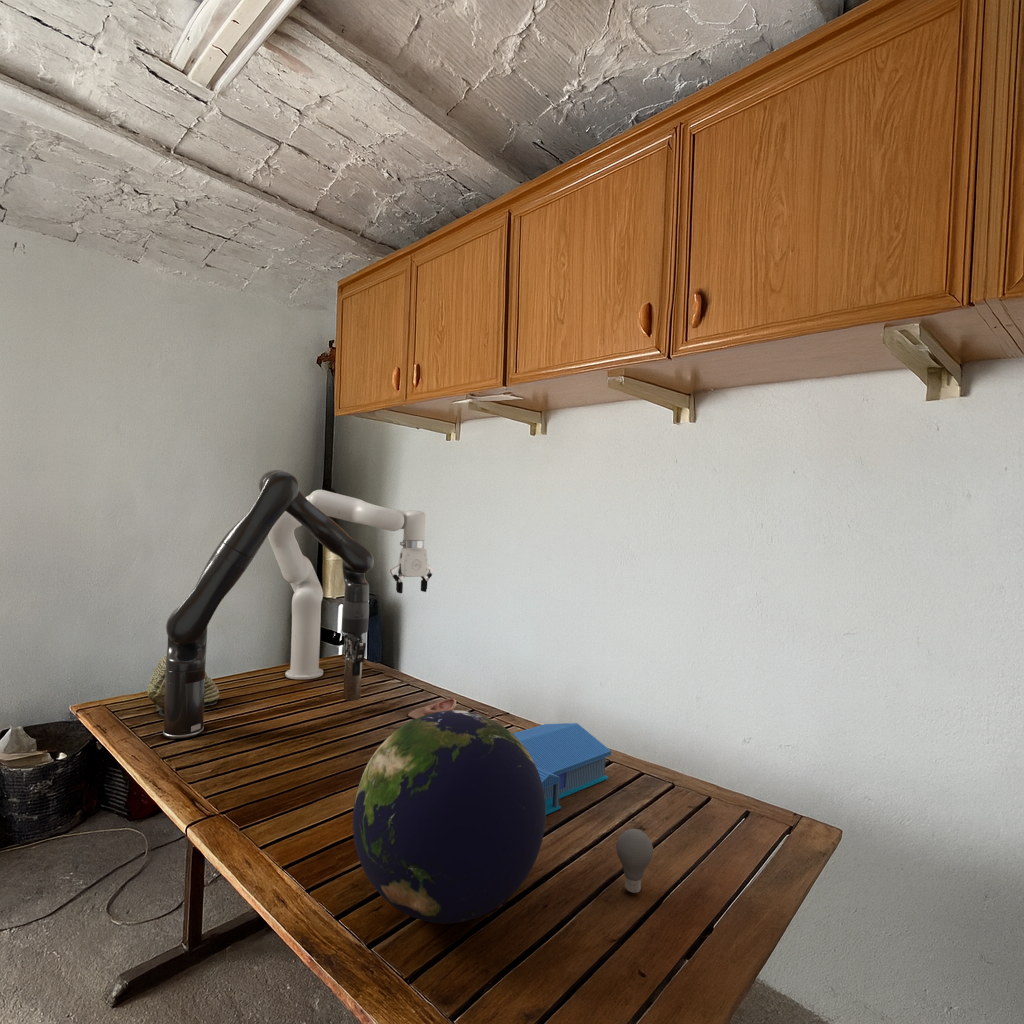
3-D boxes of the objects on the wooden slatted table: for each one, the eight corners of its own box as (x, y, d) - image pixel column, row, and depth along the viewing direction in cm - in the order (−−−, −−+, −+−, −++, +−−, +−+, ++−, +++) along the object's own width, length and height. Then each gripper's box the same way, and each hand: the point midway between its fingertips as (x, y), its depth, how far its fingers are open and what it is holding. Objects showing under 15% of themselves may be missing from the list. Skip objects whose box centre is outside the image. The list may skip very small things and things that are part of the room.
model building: (490, 838, 120) (492, 786, 120) (417, 791, 138) (419, 745, 138) (619, 783, 146) (621, 740, 146) (544, 749, 164) (545, 711, 164)
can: (348, 701, 184) (350, 660, 184) (340, 697, 187) (341, 656, 187) (363, 698, 188) (365, 657, 187) (354, 694, 191) (356, 654, 191)
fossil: (144, 707, 182) (145, 655, 182) (212, 696, 194) (213, 647, 194) (151, 716, 175) (153, 662, 175) (221, 703, 188) (223, 653, 188)
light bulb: (610, 879, 108) (613, 822, 108) (644, 879, 109) (647, 822, 109) (619, 902, 102) (622, 840, 102) (655, 901, 103) (658, 840, 103)
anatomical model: (404, 704, 182) (418, 693, 193) (403, 718, 182) (417, 706, 193) (448, 710, 180) (460, 697, 191) (448, 723, 180) (459, 711, 191)
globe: (306, 934, 92) (314, 729, 91) (413, 836, 119) (420, 678, 119) (495, 1005, 80) (505, 771, 80) (565, 878, 108) (573, 704, 108)
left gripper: (375, 619, 183) (373, 678, 183) (360, 611, 195) (358, 665, 195) (350, 621, 179) (347, 680, 179) (336, 612, 191) (333, 668, 192)
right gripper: (396, 546, 220) (394, 595, 221) (439, 545, 231) (437, 592, 231) (387, 544, 226) (385, 591, 227) (429, 543, 237) (427, 589, 237)
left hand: (353, 672), depth 187 cm, fingers closed on can, 5 cm apart
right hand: (411, 592), depth 229 cm, fingers open, 9 cm apart
